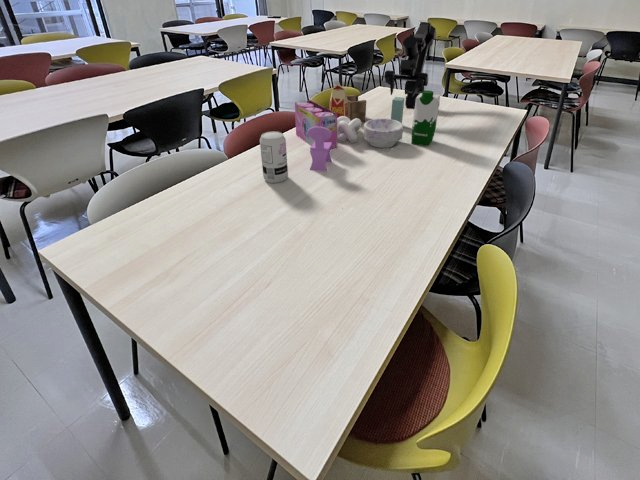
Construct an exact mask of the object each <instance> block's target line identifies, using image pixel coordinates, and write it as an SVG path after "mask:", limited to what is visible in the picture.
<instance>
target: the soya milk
mask: <svg viewBox="0 0 640 480" xmlns="http://www.w3.org/2000/svg"><path fill="white" fill-rule="evenodd" d="M440 99H441V94H434V91H432V90H424V91H423V92H422V93H420V94H419V95H418V96H417V97H416V102H415V108H413V117H412V127H411V141H410V142H411V143H410V144H411V145H419V146H426V147H429V146H430V145H431V143H432V141H433V139H434V136H435V133H436V128H437V122H438V117H439V109H440V101H441V100H440Z"/></svg>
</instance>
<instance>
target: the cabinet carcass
mask: <svg viewBox="0 0 640 480" xmlns="http://www.w3.org/2000/svg"><path fill="white" fill-rule="evenodd" d="M347 101H348V112H349V119H350V120H351V121H352V120H353V119H355V118H358V119H360V120H361V123H366V116H367V100H366V99H363V100H359V95H358V94H349V95H347Z"/></svg>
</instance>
